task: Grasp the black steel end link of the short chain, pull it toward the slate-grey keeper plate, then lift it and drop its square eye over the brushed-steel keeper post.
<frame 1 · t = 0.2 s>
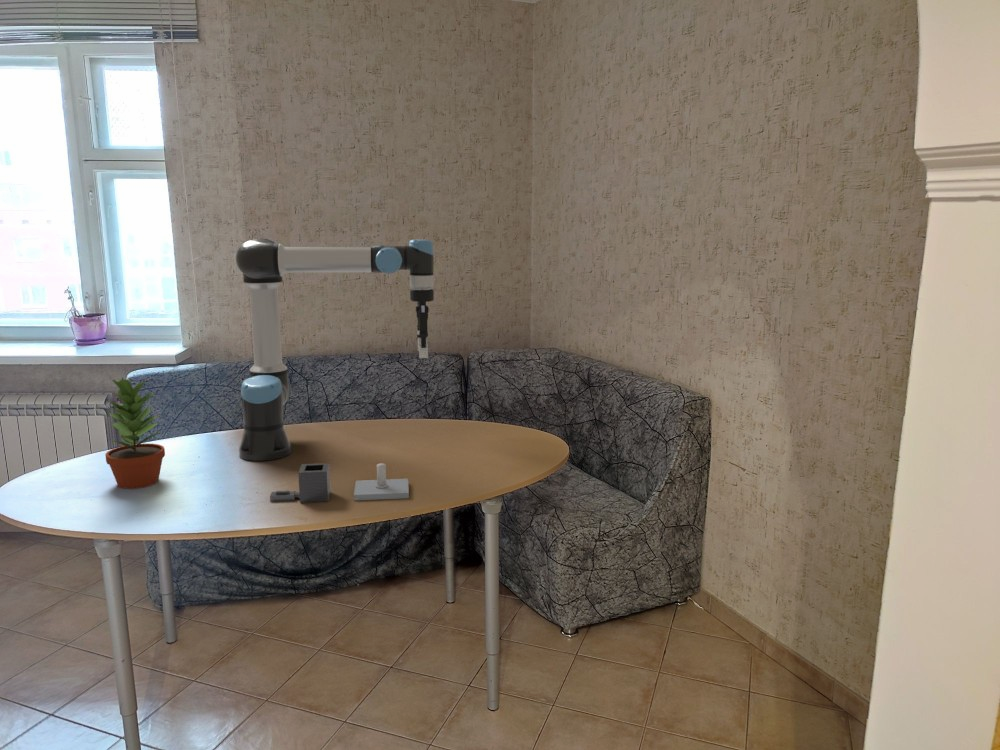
hand: (422, 354, 246), 28 cm above the table, fingers open, 13 cm apart
potted plant: (139, 482, 207), on the table
keeper: (381, 491, 200), on the table
chain end: (315, 497, 196), on the table
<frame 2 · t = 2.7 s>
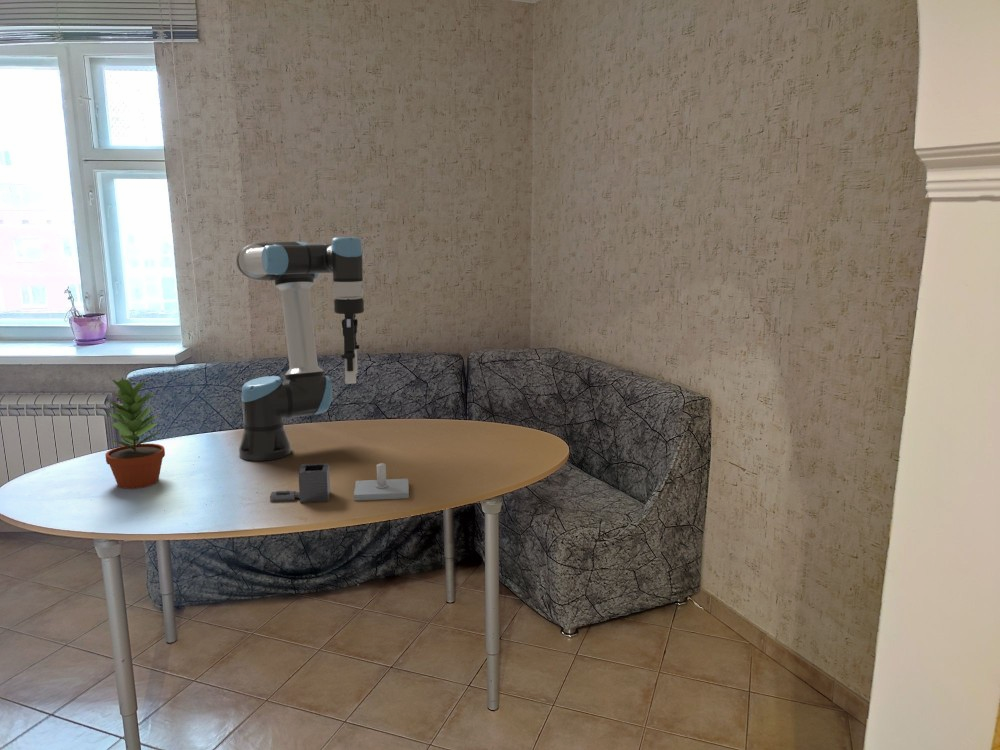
hand: (351, 378, 200), 30 cm above the table, fingers open, 13 cm apart
nothing on the table moved.
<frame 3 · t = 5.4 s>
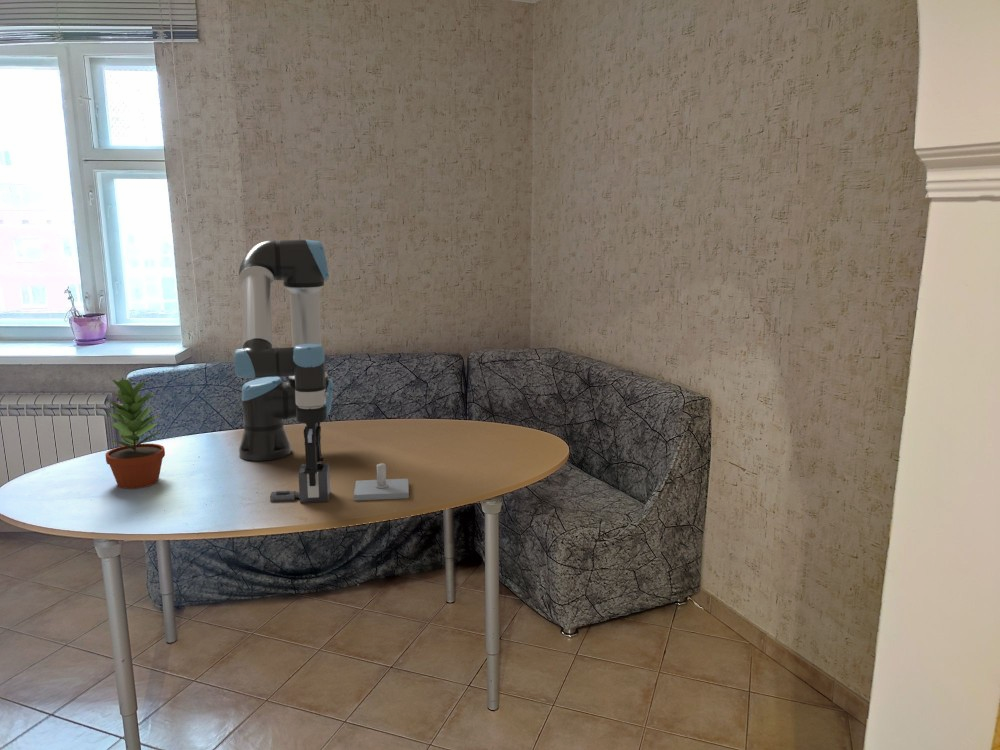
hand: (315, 491, 196), 2 cm above the table, fingers closed on chain end, 7 cm apart
chain end: (315, 497, 196), on the table, touching gripper
everything else where it was.
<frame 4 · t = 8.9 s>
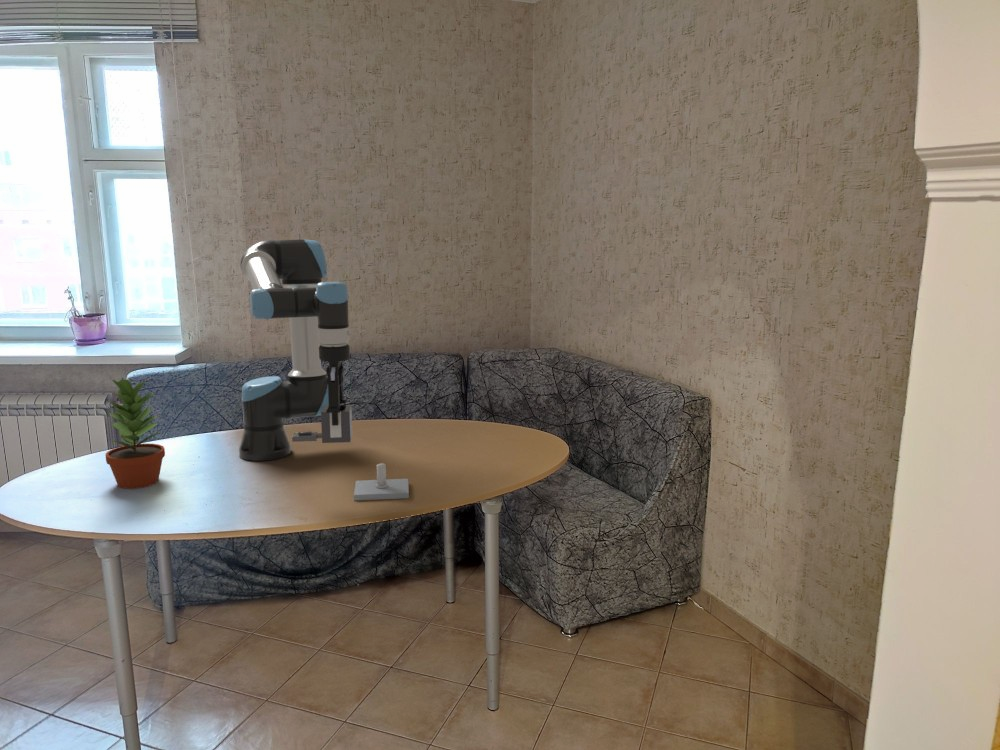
hand: (337, 432, 194), 17 cm above the table, fingers closed on chain end, 7 cm apart
chain end: (337, 438, 194), point 16 cm above the table, touching gripper
everything else where it was.
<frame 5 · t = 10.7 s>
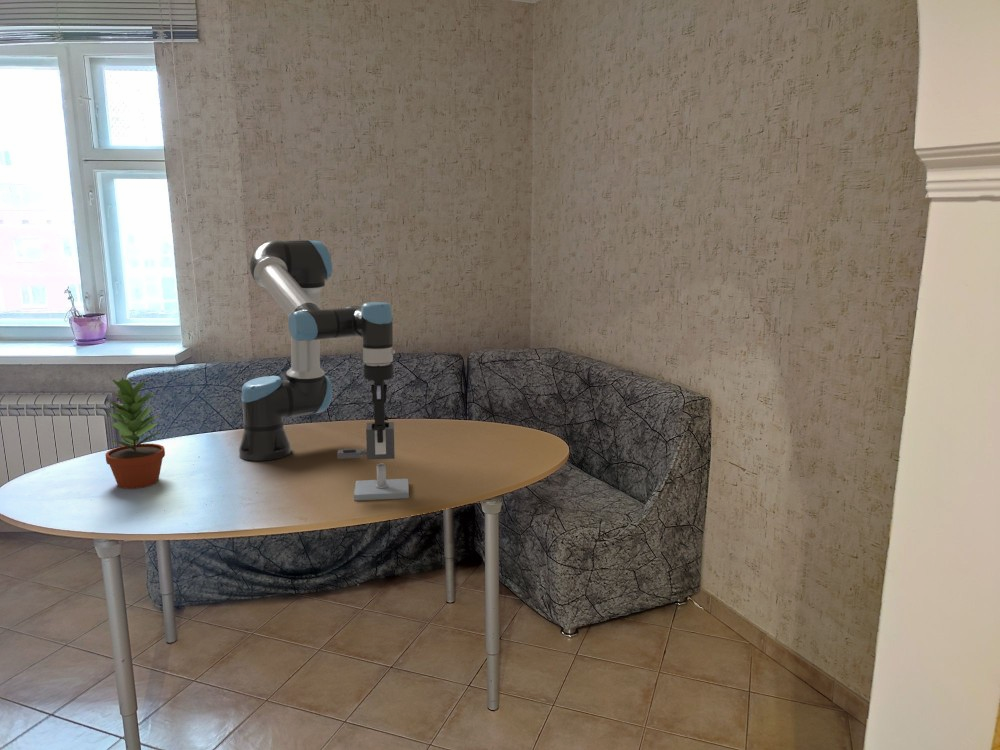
hand: (380, 449, 198), 12 cm above the table, fingers closed on chain end, 7 cm apart
chain end: (381, 455, 198), point 10 cm above the table, touching gripper
everything else where it was.
when the fingers open (4 cm above the table, at t = 12.4 s): chain end stays where it is, resting on keeper.
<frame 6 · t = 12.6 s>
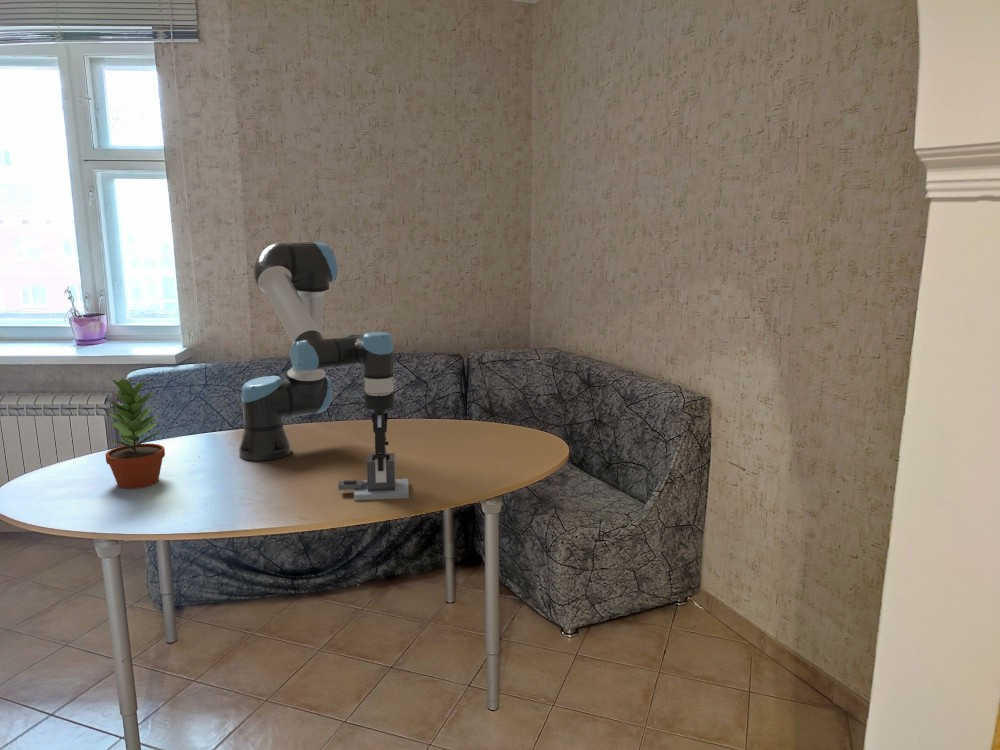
hand: (381, 475, 199), 5 cm above the table, fingers open, 9 cm apart
chain end: (381, 486, 200), point 1 cm above the table, touching keeper
everything else where it was.
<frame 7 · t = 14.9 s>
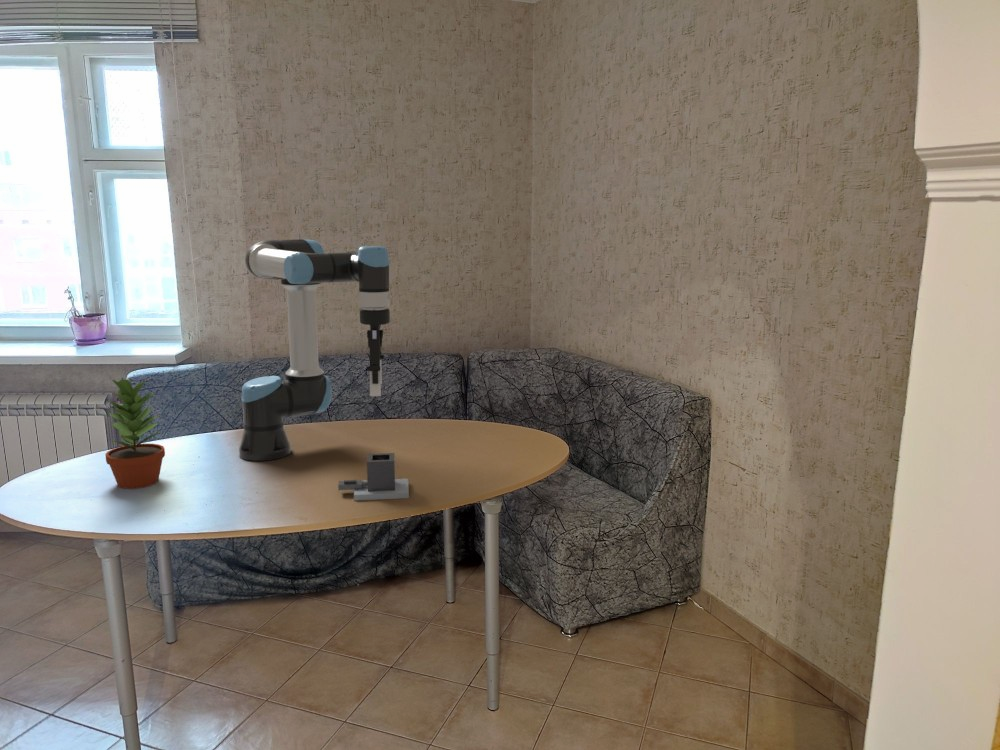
hand: (376, 389, 196), 27 cm above the table, fingers open, 13 cm apart
nothing on the table moved.
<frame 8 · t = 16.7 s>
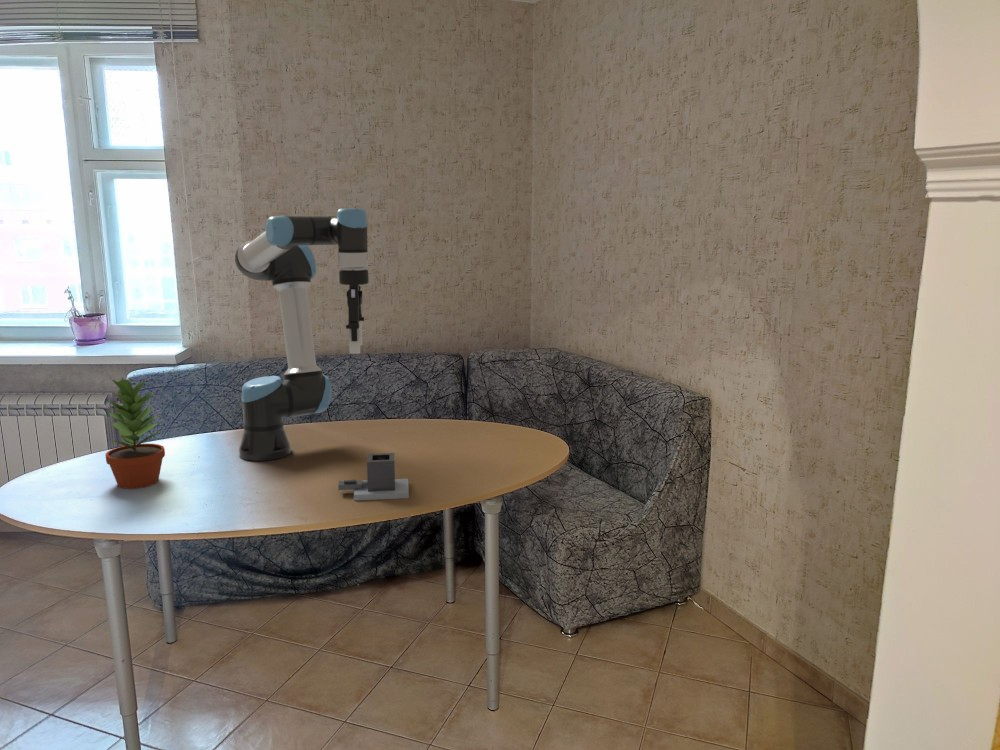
hand: (356, 349, 202), 37 cm above the table, fingers open, 13 cm apart
nothing on the table moved.
at the end: chain end 0.1 cm off-centre on the keeper, point 1.5 cm above the keeper's base; the gripper is holding nothing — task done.
